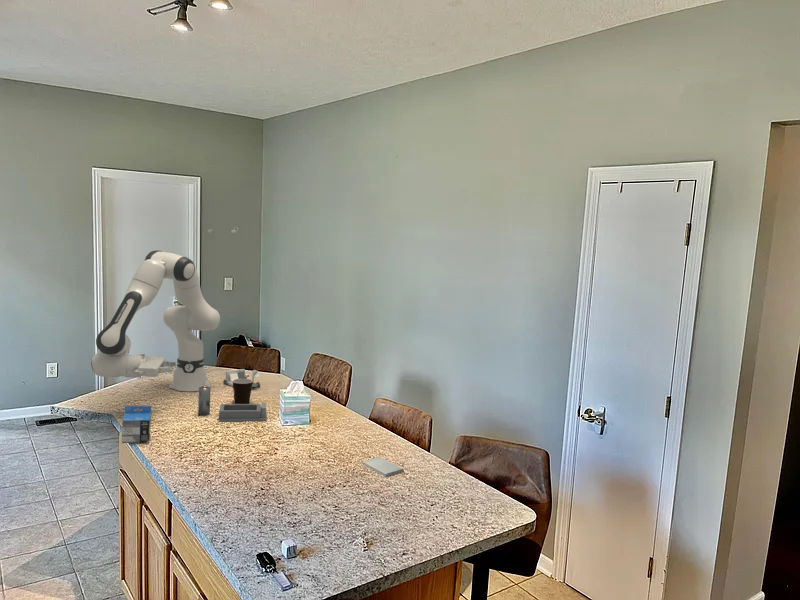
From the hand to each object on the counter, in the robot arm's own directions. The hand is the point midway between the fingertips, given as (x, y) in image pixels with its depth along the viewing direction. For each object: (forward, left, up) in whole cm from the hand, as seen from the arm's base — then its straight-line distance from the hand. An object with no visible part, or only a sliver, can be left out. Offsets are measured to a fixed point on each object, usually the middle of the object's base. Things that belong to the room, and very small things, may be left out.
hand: (174, 366), depth 231 cm
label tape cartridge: (+30, -8, -20) cm, 37 cm away
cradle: (+4, +28, -20) cm, 35 cm away
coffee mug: (-17, +27, -20) cm, 38 cm away
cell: (0, +12, -20) cm, 23 cm away
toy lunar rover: (-43, +26, -20) cm, 54 cm away
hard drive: (+59, +75, -20) cm, 98 cm away
